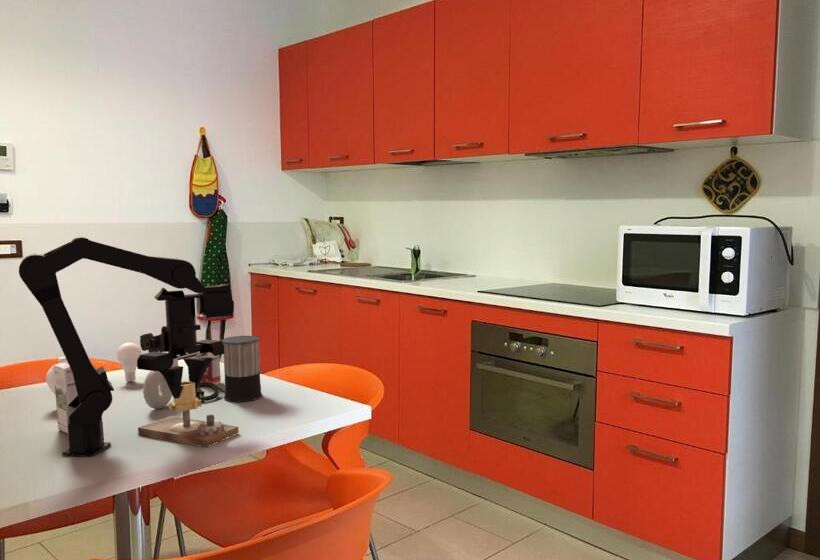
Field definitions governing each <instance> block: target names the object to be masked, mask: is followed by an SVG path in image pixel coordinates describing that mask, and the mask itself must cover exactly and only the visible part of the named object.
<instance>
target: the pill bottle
mask: <svg viewBox="0 0 820 560" xmlns="http://www.w3.org/2000/svg"><path fill="white" fill-rule="evenodd" d="M207 354H208V358H213V361H211V362H210V363H209V365H208V367H207V369H206V371H205V373H204V375H203V377H202V379H201V382H209V383H213V384H215V385H217V386H218V385H219V384H221V378H222V377H221V359H220V358H221V357H220V356H221V355H218V356H214V355H213V354H212V353H210V352H208V353H207Z"/></svg>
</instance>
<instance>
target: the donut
mask: <svg viewBox="0 0 820 560" xmlns="http://www.w3.org/2000/svg"><path fill="white" fill-rule="evenodd" d="M142 388H143V389H142V393H143V398H144V401H145V403H146V405H148V407H149V408H150V409H151V408H152V409H154V410H161V409H163V408H164V407H167V405H169V403H170V402H171V399H172V397H173V396H172V393H171V391H170V389H169V387H168V384H167V382H166V380H165V378H164V377H163V375H162V374H161V373H160V372H159V371H150V370H149V372H148V374H146V377H145V379H144V382H143V387H142Z"/></svg>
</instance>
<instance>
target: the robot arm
mask: <svg viewBox="0 0 820 560" xmlns="http://www.w3.org/2000/svg"><path fill="white" fill-rule="evenodd" d="M82 259H84V260H89V261H94V262H97V263H101V264H106V265H109V266H112V267H117V268H120V269H124V270H128V271H131V272H132V271H133V272H136V273H140V274H142V275H143V274H144V275H146V276H148V277H150V278H153V279H154V280H157V281H160V282H162V283H164V284H166V285H168V286H171V287H173V288H176V289H181V290H169V291H168V289H166V288H164V287H161V289H160V291H159V292H157V294H156V295H154V299H155V300H156V301H165V302H164V303H165V320H166V321H165V322H166V325H163V326H162V327H161V331H160V332H161V333H160V334H158V335H154V334H153V333H152V332H149V333H144V334H141V335H140V336H139V345H140V346H139V347H140V349H141V351H143V352H145V351H148V352H147V353H141V355H140V356H139V357H138V359H137V367H136V370H144V371H149V372H150V371H159V372H160V373H161V374H162V375H163V377H164V378H165V380H166V382H167V384H168V387H169V389H170V391H171V393H172V397H173V399H174V398H175V399H178V398H179V395H180V389H181V382H183V381H182V379H183V372H184V366H181V365H179V361H180V360H183V361H184V363H185V365H186V366H187V371H188V381H193V382H195V393H196V391H197V389H198V386H199V384H200V382H201V379H202V377H203V375H204V373H205V371H206V369H207V367H208V365H209V363H210V362H211V361H213V358H208V354H207V353H208V352H210V353H212V354H213V355H214V356H218V355H220V356H222V355H224V344H223V342H222V340H215V339H214V340H213V339H206V338H205V339H202V340H197V331H200V330H202V329H201V324H197V320H196V319H197V316H196V311H197V314H198V315H202V317H203V319H216V318H217V319H218V318H225V317H226V318H227V317H229V318H230V317H233V315H234V311H235V302H234V300H233V296H232V295H233V294H232V292H231V286H230V284H225V283H224V284H223V283H222V284H220V285H209V286H205V285H204V283H202V282H201V280H200V279H198V277H197V276H196V275H197V274H196V273H197V272H196V269H195V266H194V265H193V263H191V262H189V261H187V260H184V259H180V258H172V257H162V256H152V255H151V256H149V255H145V254H141V253H137V252H133V251H130V250H127V249H123V248H119V247H117V246H112V245H108V244H104V243H102V242H101V243H100V242H97V241H94V240H90V239H89V238H86V237H84V236H82V237H81V236H78V237H77V236H76V237H75V238H73V239H72V240H71V241H69V242H67V243H65V244H63V245H59V246H58V247H56V248H54V249H52V250H50V251H47V252H45V253H43V254H42V253H33V254H32V253H31V254H29V255H26V256H25V257H24V258H23V259H22V260H21V262H20V263H19V267H18V275H19V277H20V279H21V280H22V282H23V284H24V285H25V286H26V288H27V289H28V290H29V291H30V293H31V294H32V296H34V299H36V300H37V302H38V303H39V304H40V306H41V307H42V309H43V312H44V314H45V317H46V318H47V320H48V322H49V325H50V327H51V329H52V331H53V334H54V336H55V338H56V340H57V342H58V344H59V346H60V349H61V350H62V353H63V356H64V357H66V360H67V362H68V364H69V366H70V368H71V370H72V373H73V378H74V382H75V386H76V390H77V394H78V395H77V396H76V397H75V398H74V399H73V400H72V401H71V402H70V404H69V405H68V406H67V412H68V417H69V423H68V434H67V436H68V437H67V439H68V448H67V449H66V450H64V451H62V452H61V455H62V456H77V457H78V456H80V457H81V456H83V457H85V456H86V457H93V456H95V455H96V454H99V453H101V452H102V451H103V450H105V449H107V448H109V447H110V446H112V442H110V441H107V442H106V441H105V439H104V438H105V437H104V436H105V435H104V425H103V424H104V422H103V414H104V413H105V411H107V410H108V409H109V408H110V406H111V405H112V403H113V393H112V392H114V391H115V388H114V385H113V384H112V382H111V381H110V380H109V378H108V375H107V372H106V370H105V367H104V366H103V365H101V366H100V367H98V368H97V369H96V367H95V365H94V364H93V363H92V362H91V360H90V358H89V355H88V353H87V352H86V349H85V347H84V345H83V343H82V340H81V338H80V336H79V334H78V331H77V330H76V327H75V325H74V322H73V321H72V318H71V316H70V314H69V312H68V310H67V307H66V305H65V303H64V300H63V298H62V293H61V290H60V286H59V282H58V278H57V277H58V276H57V273H58V272H60V271H62V270H64V269H66V268H68V267H70V266H71V265H73V264H75V263H77V262H79V261H80V260H82ZM182 289H183V290H184V289H187V290H188V291H191V292H193V293H192V294H191V293H190V294H185V292H184V291H183V290H182ZM104 441H105V442H104Z"/></svg>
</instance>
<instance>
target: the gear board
mask: <svg viewBox="0 0 820 560" xmlns="http://www.w3.org/2000/svg"><path fill="white" fill-rule="evenodd" d="M190 411H191V410H187V411H182V417H181V416H175V415H170V416H167V417H164V418H162V419H158V420H156V421H153V422H150V423H146V424H144V425H141V426H139V427H137V434H138V436H144V437H149V438H154V439H159V440H164V441H165V440H167V441H171V442H175V443H176V442H177V443H182V444H186V443H187V445H192V444H194V445H193V446H197V445H201V446H200V447H203V446H205V447H204V448H209V447H210V446H209V445H211V446H213V445H212V444H214V443H216V442H218V443H220V442H219V441H221V440H223V439H225V438H227V437H230V436H232V435H234V434H237V433H239V426H236V425H230V424H224V423H223V422H221V421H216V422H215V417H214V416H215V415H214V414H207V415H206V420H198V419H193V418H191V413H190ZM239 434H240V433H239ZM237 435H238V434H237ZM232 437H233V436H232ZM230 438H231V437H230ZM225 440H226V439H225ZM223 441H224V440H223ZM221 442H222V441H221ZM216 444H217V443H216ZM214 445H215V444H214ZM208 446H209V447H208Z"/></svg>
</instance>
